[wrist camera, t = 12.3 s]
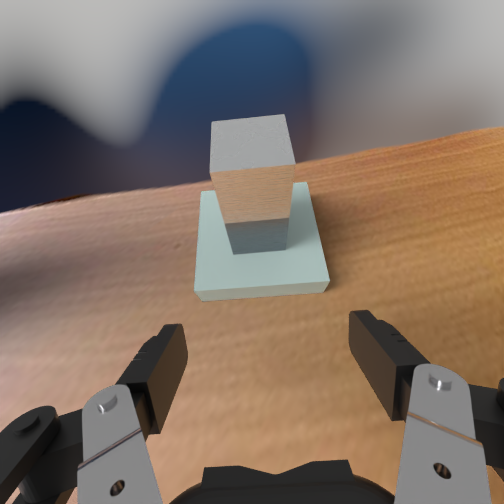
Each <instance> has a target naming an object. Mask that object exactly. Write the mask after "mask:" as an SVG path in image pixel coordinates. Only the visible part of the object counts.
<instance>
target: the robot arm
mask: <svg viewBox="0 0 504 504" xmlns="http://www.w3.org/2000/svg"><path fill="white" fill-rule="evenodd" d="M349 346H350V350H351V352H352V354H353V356H354V358H355V360H356V361H357V363H358V365H359V366H360V368H361V370H362V371H363V373H364V375H365V377H366V378H367V380H368V382H369V383H370V385H371V387H372V388H373V390H374V392H375V393H376V395H377V397H378V399H379V400H380V402H381V404H382V405H383V407H384V409H385V410H386V412H387V414H388V416H389V417H390V419H391V421H400V420H404V421H405V423H406V425H405V432H404V439H403V446H402V453H401V460H400V466H399V473H398V480H397V487H396V494H395V496H394V495H393V494H391V493H390V492H389V491H387V490H386V489H384V488H383V487H381V486H380V485H378V484H376V483H374V482H372V481H370V480H368V479H366V478H363V477H360V476H358V475H354V474H353V473H352V470H351V468H350V465H349V462H348V460H331V461H313V462H310V463H307V464H304V465H302V466H299V467H296V468H294V469H291V470H288V471H286V472H283V473H281V474H276V475H275V474H270V473H266V472H262V471H258V470H254V469H250V468H246V467H243V466H222V467H204V472H203V477H202V482H201V483H199V484H196V485H194V486H192V487H191V488H189V489H187V490H186V491H184V492H183V493H181V494H180V495H179V496H177V497H176V498H175V499H174V500H173V501H171V502H170V503H169V504H492V503H491V496H490V489H489V482H488V475H487V469H486V465H489V466H492V467H493V469H494V470H495V471H496V472H497V474H498V475H499V476H500V477H501V479H502V480H503V481H504V378H502V379H501V380H500V382H499V386H498V389H494V388H488V387H482V386H476V385H470V384H467V383H466V381H465V380H464V379H463V378H462V377H461V376H459V375H458V374H456V373H455V372H453V371H451V370H449V369H447V368H445V367H442V366H439V365H434V364H431V363H430V362H429V361H428V360H427V359H426V358H425V357H424V356H423V355H422V354H421V353H420V352H419V351H418V350H417V349H416V348H415V347H414V346H413V345H412V344H411V343H410V342H407V340H406V339H405V338H404V337H403V336H402V335H401V334H400V333H399V332H398V331H397V330H396V329H395V328H394V327H393V326H392V325H390V324H388V323H387V322H385V321H383V320H377V319H376V318H375V317H374V316H373V315H372V314H371V312H370V311H369V310H358V311H350V314H349ZM187 360H188V351H187V346H186V340H185V335H184V330H183V326H182V324H167V325H164V326H163V328H162V329H161V331H160V332H159V334H158V335H157V336H153V337H152V338H150V339H149V340H148V341H147V342H145V343H144V344H143V346H142V347H141V349H140V350H139V351H138V354H136V356H135V357H134V359H133V361H131V363H130V364H129V366H128V367H127V368H126V370H125V371H124V373H123V374H122V375H121V377H120V378H119V380H118V381H117V383H116V384H115V385H113V386H110V387H107V388H105V389H103V390H101V391H99V392H98V393H96V394H95V395H94V396H93V397H92V398H90V399H89V401H88V402H87V403H86V404H85V406H84V408H83V409H80V410H77V411H74V412H71V413H67V414H64V415H61V416H58V415H57V412H56V410H55V408H54V407H52V406H42V407H38V408H35V409H33V410H30V411H28V412H26V413H25V414H23V415H21V416H20V417H18V418H17V419H15V420H14V421H12V422H11V423H10V424H9V425H8V426H7V427H6V428H4V429H3V430H2V432H1V433H0V504H5V503H6V501H7V500H8V499H9V497H10V496H11V495H12V493H13V492H14V491H15V489H16V488H17V487H18V488H19V490H20V494H19V495H18V496H17V498H16V499H15V501H14V502H13V503H12V504H66V503H67V501H68V499H69V498H70V496H71V494H72V492H73V490H74V489H75V487H78V504H163V502H162V498H161V495H160V491H159V488H158V485H157V481H156V478H155V474H154V471H153V468H152V464H151V461H150V457H149V454H148V451H147V447H146V444H145V442H146V440H147V437H148V435H150V434H160V433H161V430H162V428H163V425H164V422H165V420H166V417H167V415H168V412H169V409H170V407H171V404H172V401H173V399H174V396H175V394H176V391H177V388H178V386H179V383H180V381H181V378H182V375H183V373H184V370H185V367H186V365H187Z"/></svg>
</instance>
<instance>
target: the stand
mask: <svg viewBox="0 0 504 504" xmlns="http://www.w3.org/2000/svg"><path fill="white" fill-rule="evenodd" d="M329 282H330V279H329V275H328V270H327V266H326V262H325V258H324V253H323V249H322V245H321V241H320V236H319V232H318V228H317V224H316V219H315V215H314V211H313V207H312V202H311V198H310V194H309V190H308V185H307V182H300V183H293V191H292V199H291V208H290V217H289V226H288V234H287V243H286V250H283V251H272V252H260V253H249V254H237V255H233V252H232V249H231V245H230V242H229V238H228V235H227V231H226V228H225V224H224V221H223V217H222V214H221V210H220V207H219V203H218V200H217V196H216V193H215V190H211V191H201V201H200V215H199V228H198V242H197V256H196V269H195V283H194V292H195V293H196V294H197V296H198V297H199V298H200V299H201V300H202V302H204V301H217V300H231V299H244V298H258V297H271V296H285V295H299V294H312V293H323V292H324V290H325V289H326V287H327V285H328V284H329Z"/></svg>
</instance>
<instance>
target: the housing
mask: <svg viewBox="0 0 504 504" xmlns="http://www.w3.org/2000/svg"><path fill="white" fill-rule="evenodd" d="M210 154H211V155H210V175H211V179H212V182H213V186H214V189H215V193H216V196H217V200H218V203H219V207H220V210H221V214H222V217H223V221H224V224H225V228H226V231H227V235H228V238H229V242H230V245H231V249H232V252H233V255H237V254H249V253H260V252H272V251H283V250H286V243H287V234H288V226H289V217H290V208H291V199H292V191H293V182H294V173H295V160H294V155H293V151H292V146H291V142H290V138H289V133H288V129H287V124H286V119H285V115H284V114H282V115H273V116H263V117H254V118H244V119H235V120H225V121H215V122H212V130H211V153H210Z"/></svg>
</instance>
